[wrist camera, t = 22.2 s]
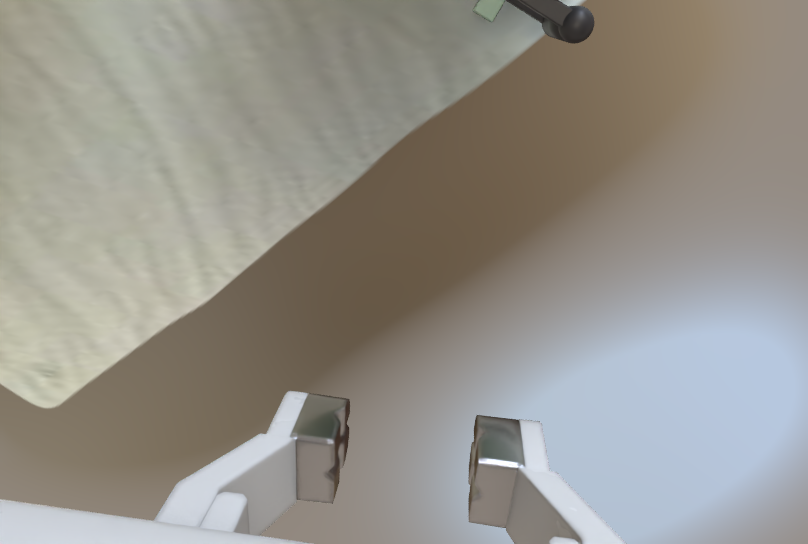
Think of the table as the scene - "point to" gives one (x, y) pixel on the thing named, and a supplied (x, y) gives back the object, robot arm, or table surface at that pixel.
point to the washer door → (547, 17)
